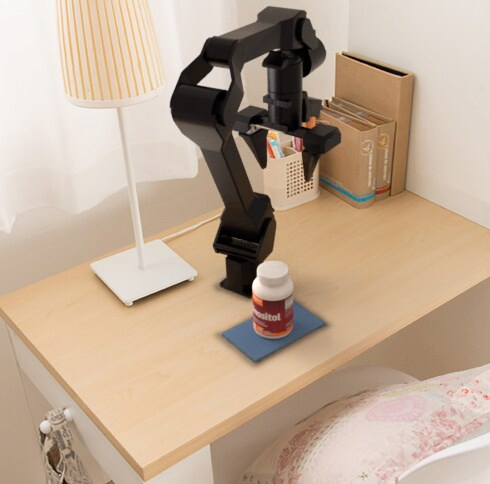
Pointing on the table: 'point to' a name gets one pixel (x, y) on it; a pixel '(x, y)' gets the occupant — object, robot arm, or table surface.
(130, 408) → the table surface
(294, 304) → the napkin
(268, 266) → the pill bottle
